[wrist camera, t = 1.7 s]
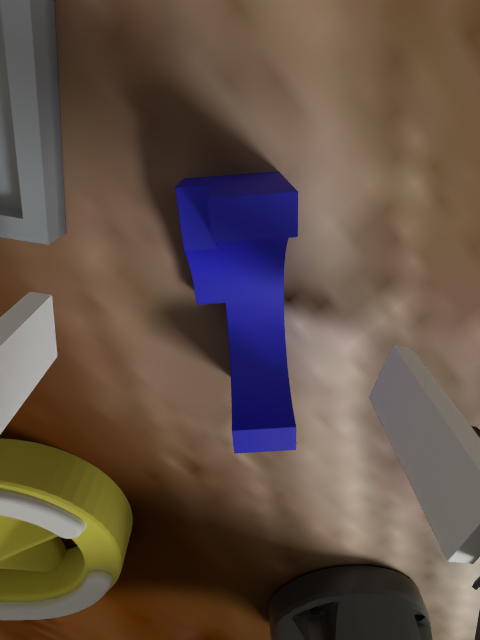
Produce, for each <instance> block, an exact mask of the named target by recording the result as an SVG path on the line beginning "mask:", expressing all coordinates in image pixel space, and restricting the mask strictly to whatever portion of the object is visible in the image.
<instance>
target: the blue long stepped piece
mask: <svg viewBox="0 0 480 640" xmlns="http://www.w3.org/2000/svg"><path fill="white" fill-rule="evenodd" d="M175 191H176V198H177V205H178V211H179V218H180V225H181V232H182V239H183V246H184V252H185V254H186V257H187V260H188V263H189V266H190V270H191V274H192V279H193V284H194V289H195V295H196V301H197V305H201V304H216V303H226V311H227V323H228V336H229V351H230V369H231V394H232V435H233V445H234V453H249V452H266V451H283V450H296V424H295V419H294V413H293V407H292V400H291V393H290V385H289V377H288V368H287V357H286V344H285V328H284V262H285V252H286V246H287V241H288V238H289V237H298V191H297V190H296V189H295V188H294V187H293V186H292V185H291V184H290V183H289V182H288V181H287V180H286V179H285V178H284V177H283V175H282V174H281V173H280V172H267V173H254V174H240V175H227V176H214V177H200V178H187V179H183V180H182V181H181V182H180V183H179V184H178V185H177V186H176V187H175Z"/></svg>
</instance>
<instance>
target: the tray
mask: <svg viewBox="0 0 480 640" xmlns="http://www.w3.org/2000/svg"><path fill="white" fill-rule="evenodd" d="M64 234H66V216H65V196H64V177H63V157H62V138H61V118H60V99H59V79H58V60H57V40H56V21H55V1H54V0H0V237H3V238H10V239H16V240H22V241H28V242H34V243H41V244H47V245H49V244H50V243H52V242H53V241H55V240H57V239H58V238H60V237H61V236H63V235H64Z"/></svg>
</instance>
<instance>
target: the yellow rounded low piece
mask: <svg viewBox="0 0 480 640" xmlns="http://www.w3.org/2000/svg"><path fill="white" fill-rule="evenodd" d="M132 525H133V516H132V510H131V507H130V505H129V502H128V500H127V498H126V496H125V495H124V493H123V492H122V491H121V489H120V488H119V487H118V486H117V485H116V483H115V482H114V481H113V480H111V479H110V478H109V477H108V476H107V475H106V474H105V473H103V472H102V471H101V470H99V469H98V468H96V467H95V466H93V465H92V464H90V463H88V462H87V461H85V460H83V459H81V458H79V457H77V456H75V455H72V454H70V453H68V452H65V451H63V450H60V449H57V448H54V447H51V446H47V445H43V444H39V443H35V442H30V441H23V440H16V439H0V620H39V619H49V618H56V617H61V616H65V615H69V614H72V613H76V612H78V611H81V610H83V609H85V608H87V607H89V606H91V605H92V604H94V603H95V602H97V601H98V600H99V599H100V598H102V597H103V596H104V594H105V593H106V592H107V591H108V590H109V589H110V588H111V587H112V586H113V585H114V584H115V583H116V581H117V579H118V578H119V575H120V573H121V570H122V566H123V562H124V558H125V554H126V550H127V546H128V542H129V538H130V534H131V530H132ZM59 536H60V537H62V538H66V539H72V540H73V541H74V542H75V543H76V544H77V546H76V547H74V548H71V549H68V550H67V549H66V547H65V545H64V544H63V542H62V540H61V539H60V537H59Z"/></svg>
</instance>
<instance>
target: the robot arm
mask: <svg viewBox="0 0 480 640" xmlns="http://www.w3.org/2000/svg"><path fill="white" fill-rule="evenodd" d="M56 358H57V348H56V336H55V325H54V314H53V302H52V295H48V294H41V293H35V292H29V293H28V294H27V295H26V296H24V297H23V298H22V299H21V300H20V301H19V302H18V303H16V304H15V305H14V306H13V307H12V308H11V309H9V310H8V311H7V312H6V313H5V314H4V315H3V316H1V317H0V434H1V433H2V431H3V430H4V429H5V427H6V426H7V425H8V423H9V422H10V420H11V419H12V418H13V416H14V415H15V414H16V412H17V411H18V410H19V408H20V407H21V405H22V404H23V403H24V401H25V400H26V399H27V397H28V396H29V394H30V393H31V392H32V390H33V389H34V388H35V386H36V385H37V384H38V382H39V381H40V379H41V378H42V377H43V375H44V374H45V373H46V371H47V370H48V368H49V367H50V366H51V364H52V363H53V362H54V360H55V359H56ZM369 398H370V400H371V402H372V404H373V406H374V408H375V410H376V413H377V415H378V417H379V419H380V421H381V423H382V425H383V427H384V429H385V431H386V434H387V436H388V438H389V440H390V442H391V444H392V446H393V448H394V450H395V452H396V454H397V457H398V459H399V461H400V463H401V465H402V467H403V469H404V471H405V473H406V475H407V478H408V480H409V482H410V484H411V486H412V488H413V490H414V492H415V494H416V496H417V498H418V501H419V503H420V505H421V507H422V509H423V511H424V513H425V515H426V517H427V519H428V522H429V524H430V526H431V528H432V530H433V532H434V534H435V536H436V538H437V540H438V543H439V545H440V547H441V549H442V551H443V553H444V555H445V557H446V559H447V561H448V562H459V563H471V564H473V563H474V562H475V561H476V560H477V559H478V558H479V557H480V430H479V429H478V428H477V427H473V426H470V424H469V423H468V422H467V420H466V419H465V418H464V416H463V415H462V414H461V413H460V411H459V410H458V409H457V407H456V406H455V405H454V403H453V402H452V401H451V399H450V398H449V397H448V395H447V394H446V393H445V391H444V390H443V389H442V387H441V386H440V385H439V384H438V382H437V381H436V380H435V378H434V377H433V376H432V374H431V373H430V372H429V370H428V369H427V368H426V366H425V365H424V364H423V362H422V361H421V360H420V358H419V357H418V356H417V355H416V353H415V352H414V351H413V349H412V348H409V347H403V346H396V345H393V347H392V349H391V351H390V353H389V356H388V358H387V360H386V362H385V364H384V366H383V369H382V371H381V373H380V375H379V377H378V379H377V381H376V384H375V386H374V388H373V390H372V392H371V394H370V397H369ZM472 587H473V588H474V589H476V590H477V589H478V588H479V587H480V577H479V578H478V579H477V580H476V581H475V582H474V584H473V586H472ZM269 621H270V634H271V640H432V633H431V626H430V619H429V615H428V612H427V609H426V607H425V604H424V602H423V599H422V597H421V594H420V592H419V589H418V587H417V586H416V584H415V583H414V582H413V581H412V580H410V579H409V578H408V577H406V576H404V575H402V574H400V573H398V572H395V571H392V570H389V569H385V568H380V567H373V566H342V567H334V568H328V569H324V570H319V571H316V572H312V573H309V574H307V575H304V576H302V577H299V578H297V579H295V580H293V581H291V582H290V583H288V584H287V585H285V586H284V587H282V588H281V589H280V590H279V591H278V592H277V593H276V594H275V595H274V597H273V598H272V600H271V602H270V605H269ZM475 640H480V611H479V617H478V623H477V629H476V635H475Z"/></svg>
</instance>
